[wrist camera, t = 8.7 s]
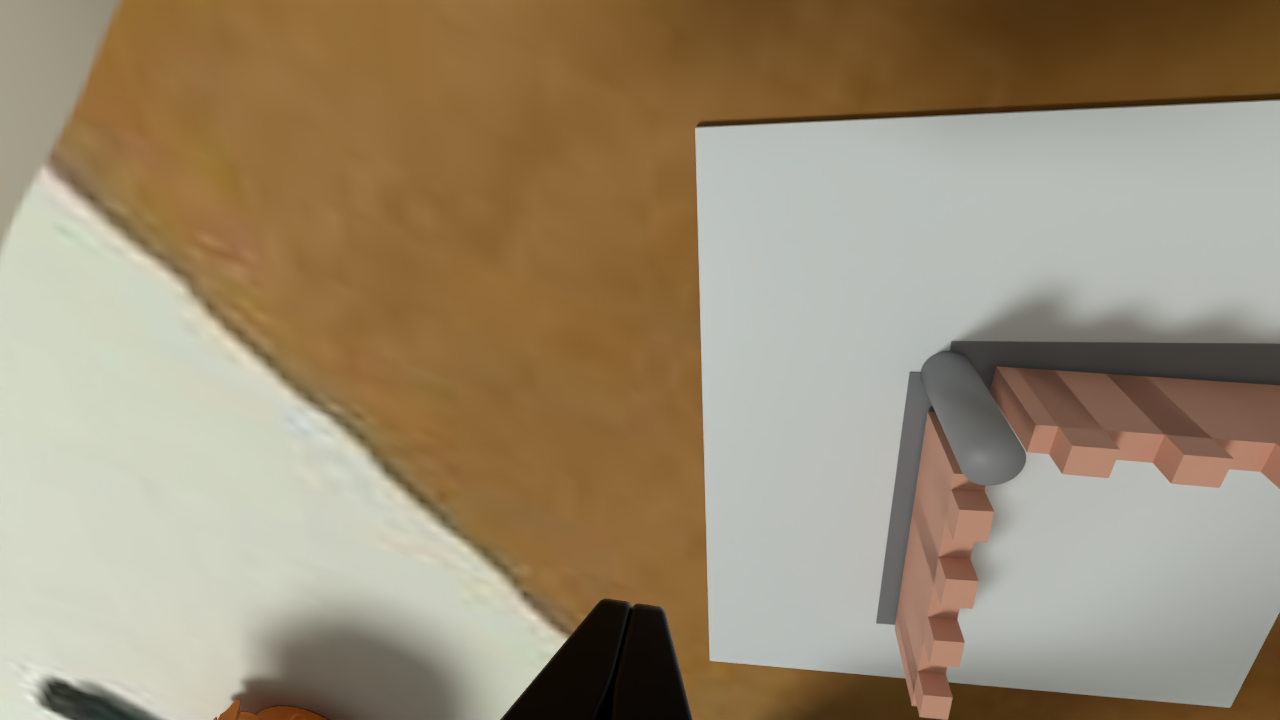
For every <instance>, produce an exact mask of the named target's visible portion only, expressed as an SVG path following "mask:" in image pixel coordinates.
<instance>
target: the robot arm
mask: <svg viewBox="0 0 1280 720" xmlns="http://www.w3.org/2000/svg"><path fill="white" fill-rule="evenodd" d="M501 720H693V719H692V715H691V711H690V708H689V704H688V700H687V696H686V692H685V688H684V684H683V680H682V676H681V672H680V668H679V664H678V660H677V657H676V653H675V649H674V645H673V641H672V637H671V633H670V629H669V625H668V621H667V617H666V614H665V611H664V610H663V608H661V607H658V606H652V605H645V604H635V605H634V606H633V608H632V605H631V604H630V603H629V602H626V601H619V600H613V599H603V600H601V601H600V602H599V603H598V604H597V605H596V606H595V607H594V608H593V610H592V611H591V612H590V613H589V614H588V616H587V617H586V618H585V619H584V620H583V622H582V623H581V624H580V625H579V626H578V628H577V629H576V630H575V631H574V632H573V634H572V635H571V636H570V637H569V638H568V640H567V641H566V642H565V643H564V644H563V646H562V647H561V648H560V649H559V650H558V651H557V653H556V654H555V655H554V656H553V657H552V659H551V660H550V661H549V662H548V663H547V665H546V666H545V667H544V668H543V669H542V671H541V672H540V673H539V674H538V675H537V677H536V678H535V679H534V680H533V681H532V683H531V684H530V685H529V686H528V687H527V688H526V690H525V691H524V692H523V693H522V694H521V696H520V697H519V698H518V699H517V700H516V702H515V703H514V704H513V705H512V706H511V708H510V709H509V710H508V711H507V712H506V714H505V715H504V716H503V717H502V718H501Z"/></svg>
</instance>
